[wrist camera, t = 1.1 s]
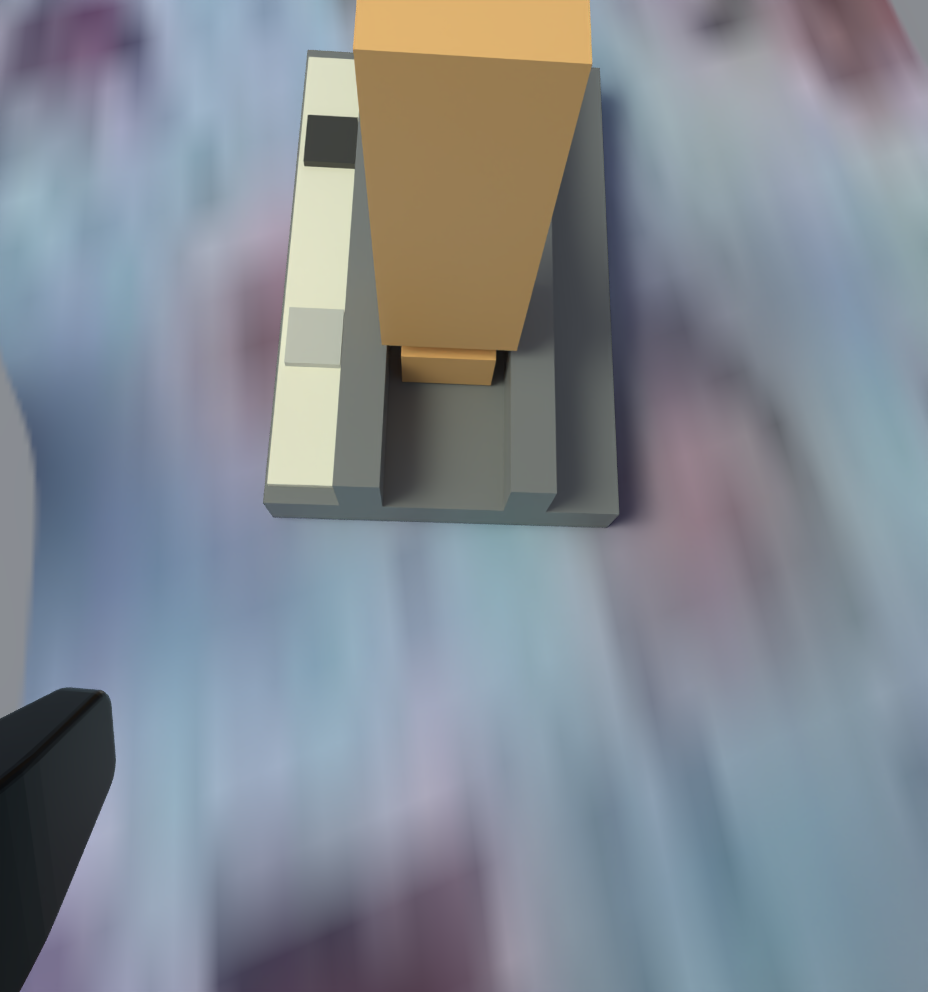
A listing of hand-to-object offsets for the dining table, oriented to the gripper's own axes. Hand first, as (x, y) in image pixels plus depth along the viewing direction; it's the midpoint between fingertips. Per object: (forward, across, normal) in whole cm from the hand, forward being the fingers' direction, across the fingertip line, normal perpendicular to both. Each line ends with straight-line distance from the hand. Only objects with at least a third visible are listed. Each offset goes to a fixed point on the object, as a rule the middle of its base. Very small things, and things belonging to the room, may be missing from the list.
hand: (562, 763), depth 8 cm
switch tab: (+17, +2, -1) cm, 17 cm away
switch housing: (+20, +2, -2) cm, 20 cm away
